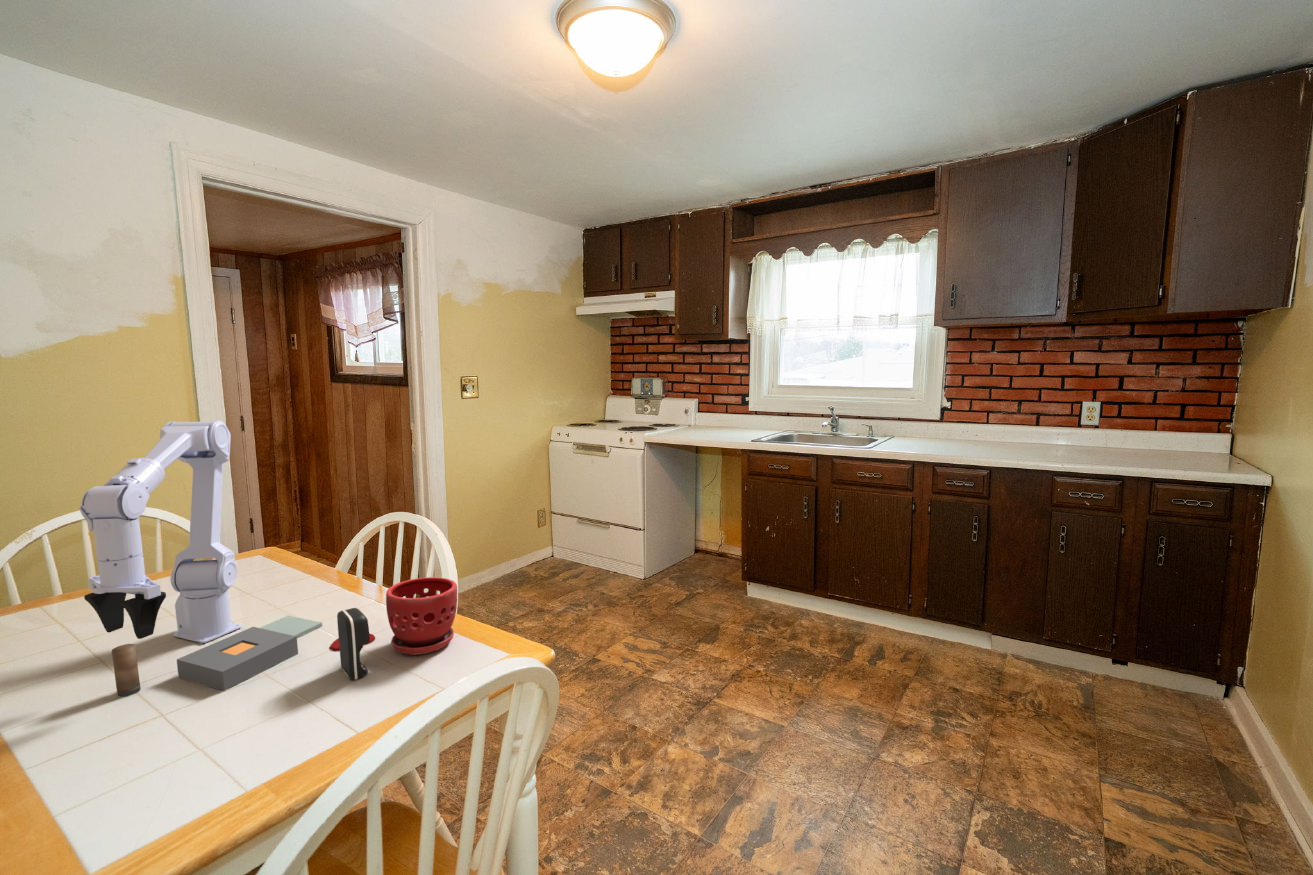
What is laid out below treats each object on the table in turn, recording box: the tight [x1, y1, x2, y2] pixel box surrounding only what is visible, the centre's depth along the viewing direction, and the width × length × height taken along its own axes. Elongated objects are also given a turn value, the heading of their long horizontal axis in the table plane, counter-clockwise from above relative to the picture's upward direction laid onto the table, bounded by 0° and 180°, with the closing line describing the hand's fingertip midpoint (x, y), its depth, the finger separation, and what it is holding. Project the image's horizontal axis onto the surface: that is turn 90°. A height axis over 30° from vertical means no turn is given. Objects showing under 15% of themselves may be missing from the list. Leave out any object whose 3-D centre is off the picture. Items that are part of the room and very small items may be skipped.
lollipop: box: [329, 632, 376, 652], centre depth 125 cm, size 8×1×15 cm
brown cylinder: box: [111, 643, 141, 698], centre depth 103 cm, size 3×3×8 cm
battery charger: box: [336, 607, 370, 681], centre depth 109 cm, size 7×4×11 cm, turn 42°
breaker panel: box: [176, 626, 299, 692], centre depth 112 cm, size 12×14×4 cm
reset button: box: [222, 643, 255, 655], centre depth 112 cm, size 4×4×1 cm
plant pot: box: [385, 576, 458, 656], centre depth 120 cm, size 13×13×12 cm
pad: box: [260, 615, 323, 639], centre depth 126 cm, size 10×9×1 cm
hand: (129, 633), depth 102 cm, fingers open, 7 cm apart
